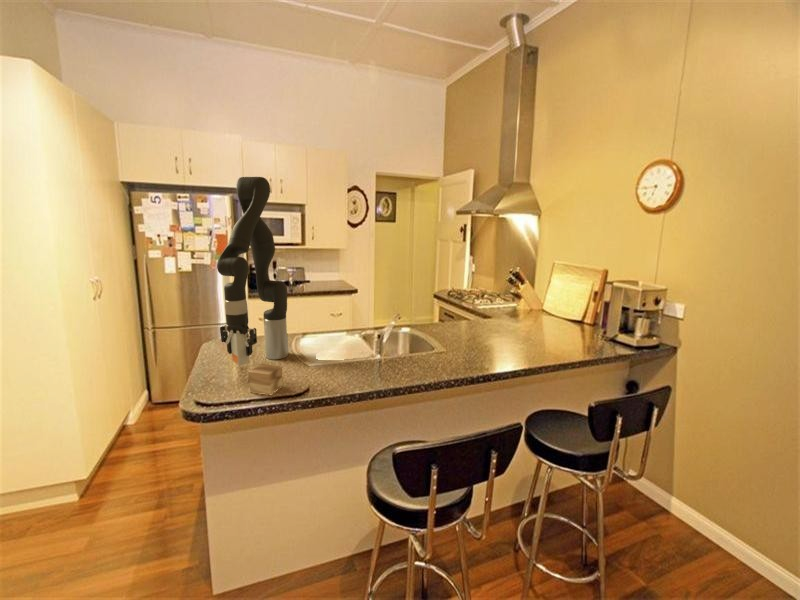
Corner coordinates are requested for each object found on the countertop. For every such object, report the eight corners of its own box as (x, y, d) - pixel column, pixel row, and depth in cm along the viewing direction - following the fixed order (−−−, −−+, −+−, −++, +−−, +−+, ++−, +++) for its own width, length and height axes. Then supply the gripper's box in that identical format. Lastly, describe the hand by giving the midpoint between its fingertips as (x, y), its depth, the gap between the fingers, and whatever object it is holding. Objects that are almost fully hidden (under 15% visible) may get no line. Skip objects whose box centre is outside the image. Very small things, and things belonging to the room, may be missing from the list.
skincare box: (231, 361, 150) (229, 331, 147) (243, 359, 153) (240, 329, 150) (238, 366, 145) (236, 335, 143) (249, 363, 148) (247, 332, 146)
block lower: (263, 384, 145) (262, 374, 144) (283, 387, 143) (282, 376, 142) (250, 393, 137) (249, 382, 137) (270, 396, 136) (270, 385, 135)
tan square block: (263, 374, 144) (262, 363, 143) (282, 377, 142) (281, 366, 141) (248, 382, 137) (248, 371, 136) (268, 385, 135) (268, 374, 134)
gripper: (260, 310, 146) (262, 352, 150) (226, 307, 150) (229, 348, 154) (247, 315, 139) (250, 359, 143) (212, 312, 143) (216, 355, 146)
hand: (240, 354), depth 148 cm, fingers closed on skincare box, 7 cm apart
